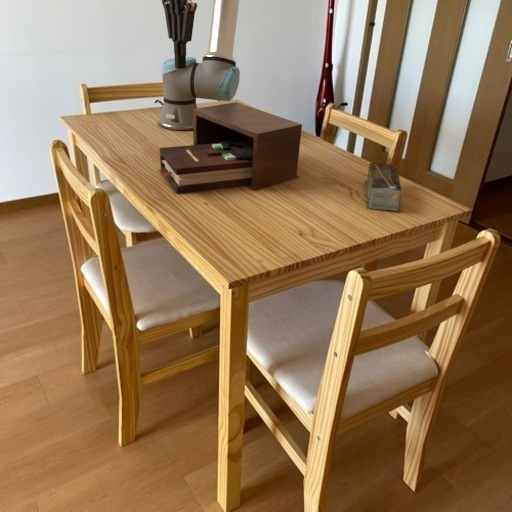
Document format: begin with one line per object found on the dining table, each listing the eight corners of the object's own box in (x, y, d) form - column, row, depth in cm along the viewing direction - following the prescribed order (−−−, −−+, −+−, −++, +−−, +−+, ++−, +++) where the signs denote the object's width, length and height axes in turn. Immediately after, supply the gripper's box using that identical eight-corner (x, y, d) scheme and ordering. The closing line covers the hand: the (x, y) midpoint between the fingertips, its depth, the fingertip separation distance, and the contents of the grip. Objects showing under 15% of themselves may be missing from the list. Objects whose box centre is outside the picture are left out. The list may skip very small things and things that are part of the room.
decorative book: (150, 144, 135) (248, 136, 146) (151, 169, 139) (247, 160, 150) (168, 168, 120) (276, 157, 132) (169, 196, 124) (274, 183, 135)
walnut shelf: (193, 160, 148) (193, 108, 140) (234, 150, 158) (236, 102, 150) (254, 190, 131) (258, 133, 123) (296, 177, 141) (302, 124, 133)
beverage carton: (366, 208, 125) (371, 184, 121) (365, 181, 141) (369, 159, 138) (397, 212, 124) (403, 188, 120) (393, 184, 140) (398, 163, 137)
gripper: (151, -32, 125) (156, 65, 137) (180, -30, 117) (182, 73, 129) (176, -31, 129) (178, 63, 141) (205, -28, 121) (205, 71, 133)
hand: (180, 67), depth 135 cm, fingers closed
